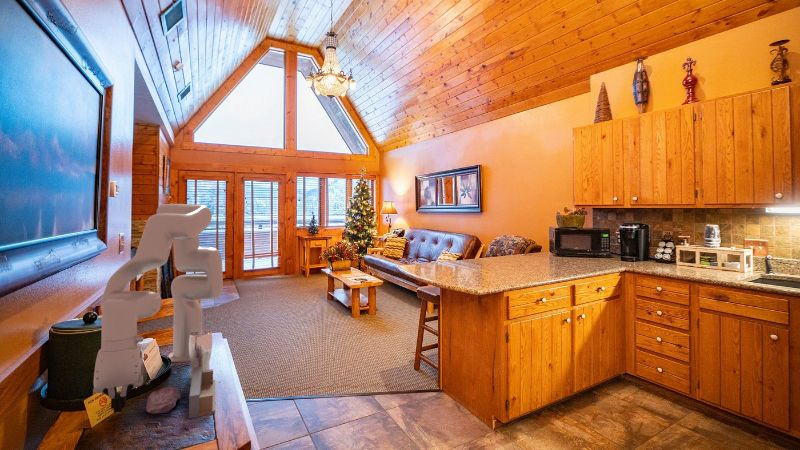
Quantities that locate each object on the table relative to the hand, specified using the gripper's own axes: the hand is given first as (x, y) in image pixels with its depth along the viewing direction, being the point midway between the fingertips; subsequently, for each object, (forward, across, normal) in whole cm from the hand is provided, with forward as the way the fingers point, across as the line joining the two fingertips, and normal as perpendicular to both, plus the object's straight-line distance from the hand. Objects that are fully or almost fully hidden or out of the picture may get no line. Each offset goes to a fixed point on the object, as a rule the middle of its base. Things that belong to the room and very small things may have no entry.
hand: (118, 409), depth 96 cm
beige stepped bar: (+1, -20, 0) cm, 20 cm away
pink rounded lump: (+2, -10, 0) cm, 10 cm away
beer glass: (+2, -19, -17) cm, 25 cm away
